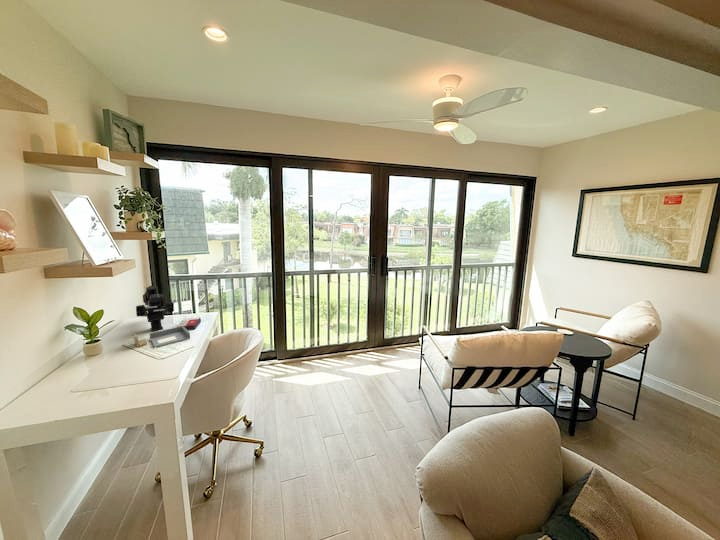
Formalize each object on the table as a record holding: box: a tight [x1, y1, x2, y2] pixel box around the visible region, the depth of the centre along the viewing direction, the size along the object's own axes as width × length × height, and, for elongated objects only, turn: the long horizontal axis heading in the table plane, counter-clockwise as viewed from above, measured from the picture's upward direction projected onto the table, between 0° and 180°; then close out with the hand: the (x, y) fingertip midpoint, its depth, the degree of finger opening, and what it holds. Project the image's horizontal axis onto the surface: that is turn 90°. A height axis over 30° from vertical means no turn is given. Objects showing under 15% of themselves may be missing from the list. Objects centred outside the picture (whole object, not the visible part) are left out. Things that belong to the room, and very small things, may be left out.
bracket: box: [133, 333, 148, 348], centre depth 170 cm, size 8×5×6 cm, turn 43°
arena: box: [149, 326, 191, 348], centre depth 176 cm, size 16×18×4 cm
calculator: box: [176, 316, 202, 331], centre depth 197 cm, size 11×4×15 cm
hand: (157, 314), depth 171 cm, fingers open, 9 cm apart
